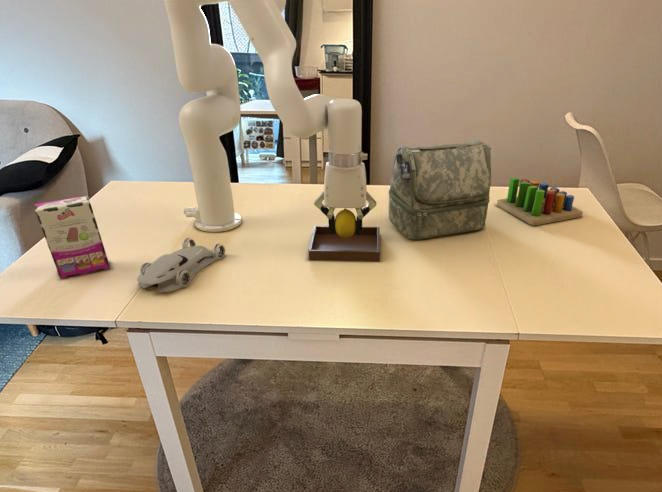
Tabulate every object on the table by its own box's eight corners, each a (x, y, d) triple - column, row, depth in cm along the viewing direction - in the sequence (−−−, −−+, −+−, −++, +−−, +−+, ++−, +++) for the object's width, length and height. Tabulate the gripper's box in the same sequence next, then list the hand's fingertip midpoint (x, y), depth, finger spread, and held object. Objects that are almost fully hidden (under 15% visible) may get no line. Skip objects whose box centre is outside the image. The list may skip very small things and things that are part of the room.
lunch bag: (404, 245, 139) (409, 158, 126) (379, 219, 153) (381, 138, 140) (493, 232, 146) (507, 148, 133) (462, 208, 160) (472, 130, 147)
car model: (229, 254, 135) (226, 235, 132) (167, 300, 117) (163, 280, 114) (191, 247, 138) (188, 228, 135) (126, 291, 120) (120, 270, 117)
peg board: (582, 217, 155) (590, 187, 150) (532, 226, 149) (539, 196, 144) (543, 197, 168) (549, 169, 162) (495, 205, 162) (500, 176, 157)
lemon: (359, 236, 138) (359, 206, 134) (352, 245, 134) (352, 214, 129) (339, 233, 140) (338, 203, 135) (331, 242, 136) (330, 211, 131)
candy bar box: (108, 261, 132) (88, 194, 122) (111, 269, 128) (91, 201, 119) (57, 270, 128) (33, 202, 118) (59, 279, 124) (34, 210, 114)
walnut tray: (309, 260, 133) (308, 250, 131) (314, 234, 145) (314, 225, 143) (379, 261, 132) (379, 252, 131) (379, 235, 144) (379, 226, 143)
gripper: (382, 154, 128) (379, 227, 139) (309, 153, 128) (312, 226, 139) (382, 164, 122) (379, 239, 133) (306, 163, 122) (309, 238, 133)
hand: (345, 231), depth 136 cm, fingers closed on lemon, 5 cm apart
